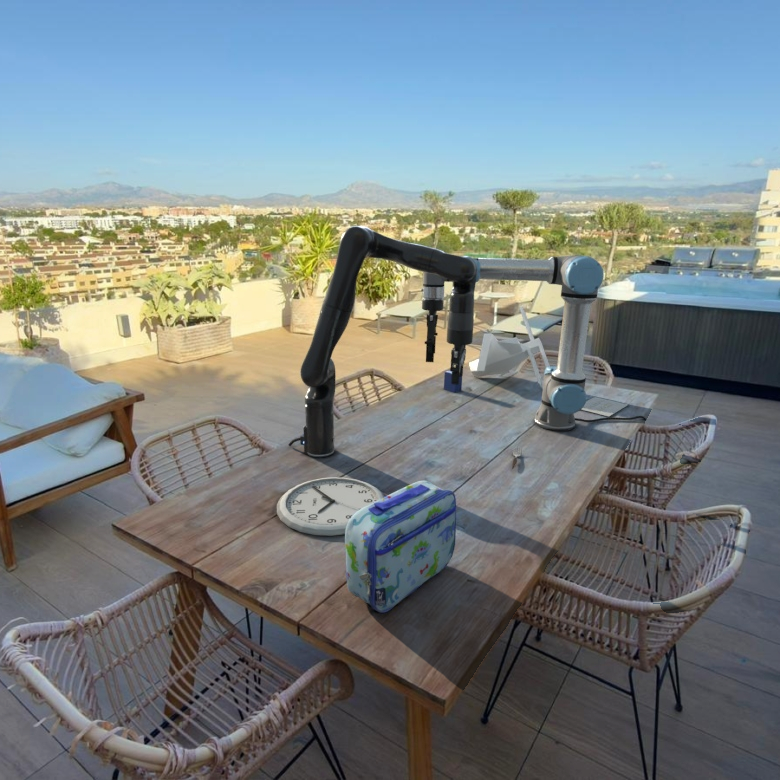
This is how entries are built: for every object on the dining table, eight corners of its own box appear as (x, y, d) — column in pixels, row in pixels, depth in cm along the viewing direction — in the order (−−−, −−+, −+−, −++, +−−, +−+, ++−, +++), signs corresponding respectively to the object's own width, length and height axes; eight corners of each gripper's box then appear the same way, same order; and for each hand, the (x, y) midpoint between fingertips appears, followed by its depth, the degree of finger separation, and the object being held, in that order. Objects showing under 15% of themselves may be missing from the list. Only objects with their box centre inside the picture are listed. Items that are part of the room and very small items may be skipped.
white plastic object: (489, 418, 267) (470, 395, 242) (471, 346, 289) (451, 318, 264) (561, 394, 254) (547, 368, 230) (535, 321, 277) (521, 289, 252)
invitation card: (608, 416, 214) (573, 407, 224) (608, 416, 214) (573, 408, 224) (628, 404, 229) (594, 396, 238) (628, 405, 229) (594, 397, 238)
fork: (508, 469, 165) (508, 463, 165) (514, 450, 180) (515, 445, 179) (516, 471, 165) (516, 465, 164) (522, 451, 179) (522, 446, 178)
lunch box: (374, 626, 100) (375, 530, 93) (338, 598, 107) (337, 508, 101) (459, 568, 117) (465, 484, 111) (424, 547, 124) (427, 467, 118)
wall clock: (392, 527, 129) (268, 531, 127) (391, 533, 130) (269, 537, 127) (383, 473, 158) (282, 475, 155) (383, 478, 158) (282, 480, 156)
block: (450, 387, 250) (451, 369, 248) (461, 390, 245) (462, 373, 243) (443, 389, 247) (444, 371, 245) (454, 392, 242) (455, 374, 240)
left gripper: (450, 322, 160) (448, 373, 165) (443, 330, 146) (440, 385, 151) (475, 323, 158) (472, 375, 163) (470, 332, 145) (466, 388, 150)
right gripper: (424, 294, 196) (422, 349, 202) (419, 303, 172) (417, 365, 178) (444, 294, 195) (441, 350, 201) (442, 303, 171) (439, 366, 178)
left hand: (456, 380), depth 157 cm, fingers open, 8 cm apart
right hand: (430, 357), depth 190 cm, fingers open, 13 cm apart
